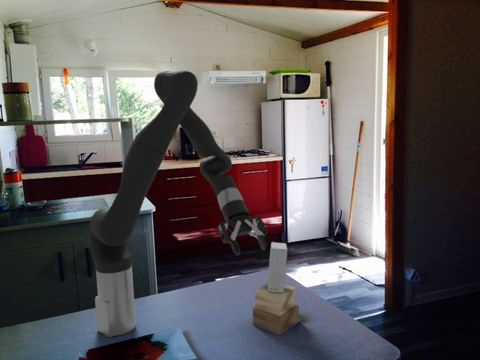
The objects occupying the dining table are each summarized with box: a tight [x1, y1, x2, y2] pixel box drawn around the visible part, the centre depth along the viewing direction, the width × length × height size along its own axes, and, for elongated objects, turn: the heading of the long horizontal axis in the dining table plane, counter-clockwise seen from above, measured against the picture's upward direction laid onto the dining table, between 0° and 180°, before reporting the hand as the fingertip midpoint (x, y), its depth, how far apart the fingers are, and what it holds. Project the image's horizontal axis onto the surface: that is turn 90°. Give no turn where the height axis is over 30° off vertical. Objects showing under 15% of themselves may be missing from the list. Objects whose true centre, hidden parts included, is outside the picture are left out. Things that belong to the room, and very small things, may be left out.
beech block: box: [254, 283, 297, 316], centre depth 113 cm, size 8×8×5 cm
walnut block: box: [252, 304, 300, 336], centre depth 113 cm, size 9×9×5 cm
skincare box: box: [267, 241, 288, 293], centre depth 112 cm, size 6×4×12 cm
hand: (251, 251), depth 120 cm, fingers open, 8 cm apart
